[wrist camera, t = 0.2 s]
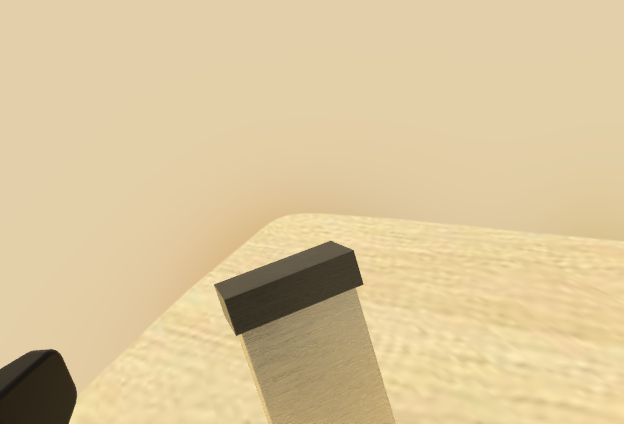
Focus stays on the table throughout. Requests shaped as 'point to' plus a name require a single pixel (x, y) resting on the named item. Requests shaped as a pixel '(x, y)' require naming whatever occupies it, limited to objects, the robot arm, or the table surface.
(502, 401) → the table surface
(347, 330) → the cream dark-capped block
